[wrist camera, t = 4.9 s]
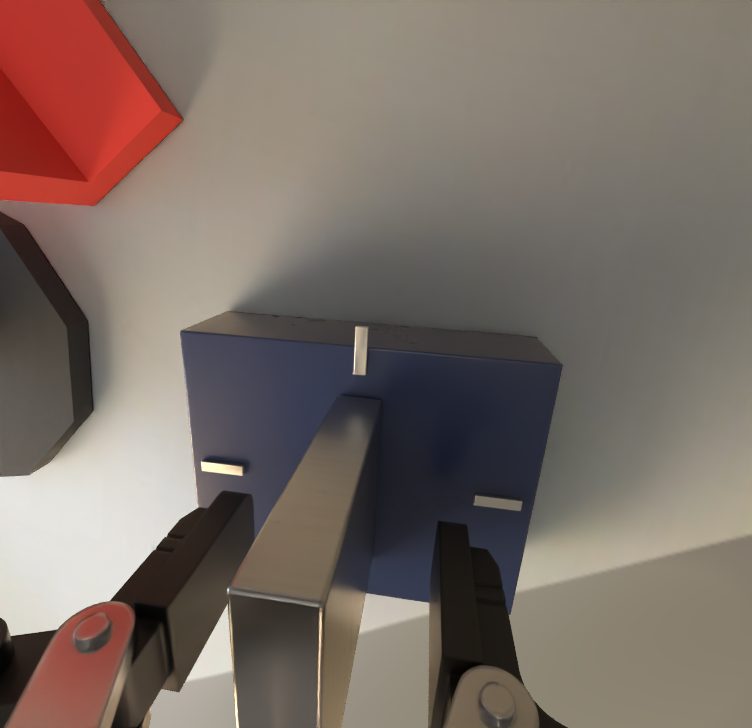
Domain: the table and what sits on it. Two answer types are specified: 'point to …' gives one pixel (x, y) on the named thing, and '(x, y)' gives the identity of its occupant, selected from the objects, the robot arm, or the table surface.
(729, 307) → the table surface
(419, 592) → the switch box
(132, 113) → the bracket
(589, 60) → the table surface
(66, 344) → the gun turret
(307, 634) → the grey slab
